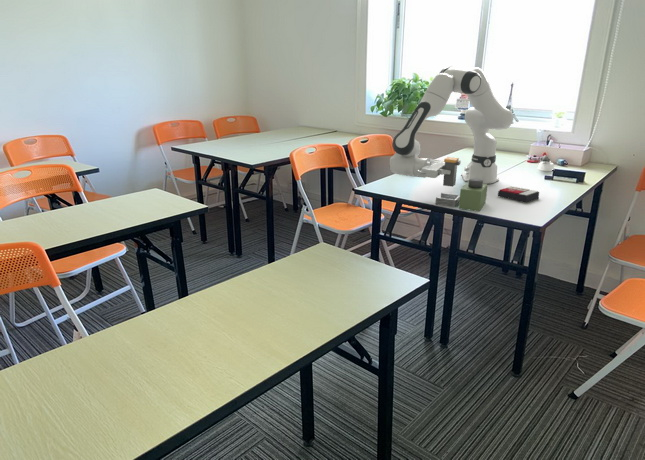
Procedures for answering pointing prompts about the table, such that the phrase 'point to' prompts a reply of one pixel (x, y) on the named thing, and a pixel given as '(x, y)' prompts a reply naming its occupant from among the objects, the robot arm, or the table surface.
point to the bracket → (448, 199)
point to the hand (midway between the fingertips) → (452, 170)
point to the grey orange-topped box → (451, 165)
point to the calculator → (519, 194)
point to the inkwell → (545, 164)
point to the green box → (473, 195)
